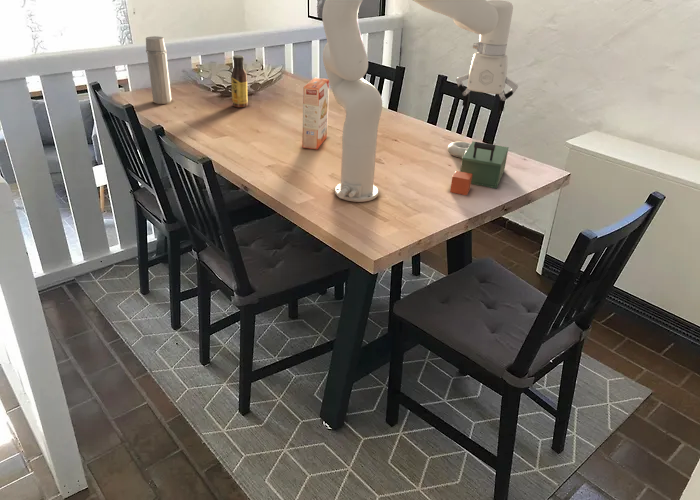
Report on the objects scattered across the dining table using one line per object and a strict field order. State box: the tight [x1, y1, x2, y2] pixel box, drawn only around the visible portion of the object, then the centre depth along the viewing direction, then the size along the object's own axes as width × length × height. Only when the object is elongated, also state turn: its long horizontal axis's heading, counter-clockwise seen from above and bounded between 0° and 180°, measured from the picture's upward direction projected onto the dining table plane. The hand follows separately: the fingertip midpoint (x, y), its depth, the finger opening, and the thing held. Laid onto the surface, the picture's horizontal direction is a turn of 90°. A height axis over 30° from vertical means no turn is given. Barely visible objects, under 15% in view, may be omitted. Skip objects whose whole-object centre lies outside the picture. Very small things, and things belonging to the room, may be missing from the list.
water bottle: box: [145, 35, 172, 105], centre depth 226 cm, size 9×8×25 cm
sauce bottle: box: [230, 54, 249, 108], centre depth 229 cm, size 7×6×20 cm
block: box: [449, 170, 472, 196], centre depth 169 cm, size 5×5×5 cm
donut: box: [447, 141, 472, 159], centre depth 196 cm, size 10×4×10 cm
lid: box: [461, 141, 510, 167], centre depth 175 cm, size 16×12×6 cm
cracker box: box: [301, 77, 330, 150], centre depth 195 cm, size 14×6×21 cm, turn 168°
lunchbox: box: [460, 150, 509, 189], centre depth 179 cm, size 16×12×7 cm
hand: (482, 110), depth 166 cm, fingers open, 9 cm apart
